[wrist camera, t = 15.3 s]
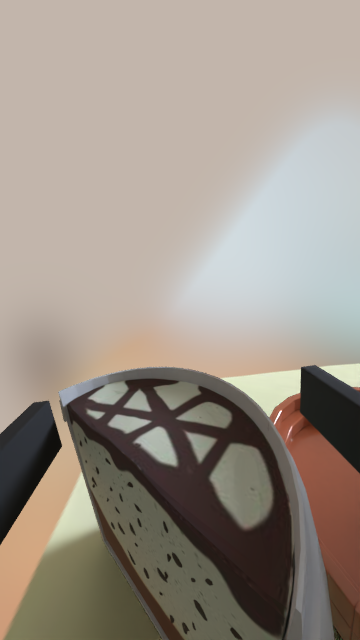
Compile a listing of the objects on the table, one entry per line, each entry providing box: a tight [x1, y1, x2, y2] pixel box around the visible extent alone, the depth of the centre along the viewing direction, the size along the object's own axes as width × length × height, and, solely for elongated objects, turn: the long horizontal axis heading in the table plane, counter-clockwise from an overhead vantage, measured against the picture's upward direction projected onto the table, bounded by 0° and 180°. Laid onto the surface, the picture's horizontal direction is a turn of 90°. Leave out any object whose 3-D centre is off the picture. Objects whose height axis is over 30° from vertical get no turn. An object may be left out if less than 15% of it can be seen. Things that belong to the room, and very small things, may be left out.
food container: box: [58, 367, 335, 640], centre depth 10 cm, size 12×6×10 cm, turn 49°
